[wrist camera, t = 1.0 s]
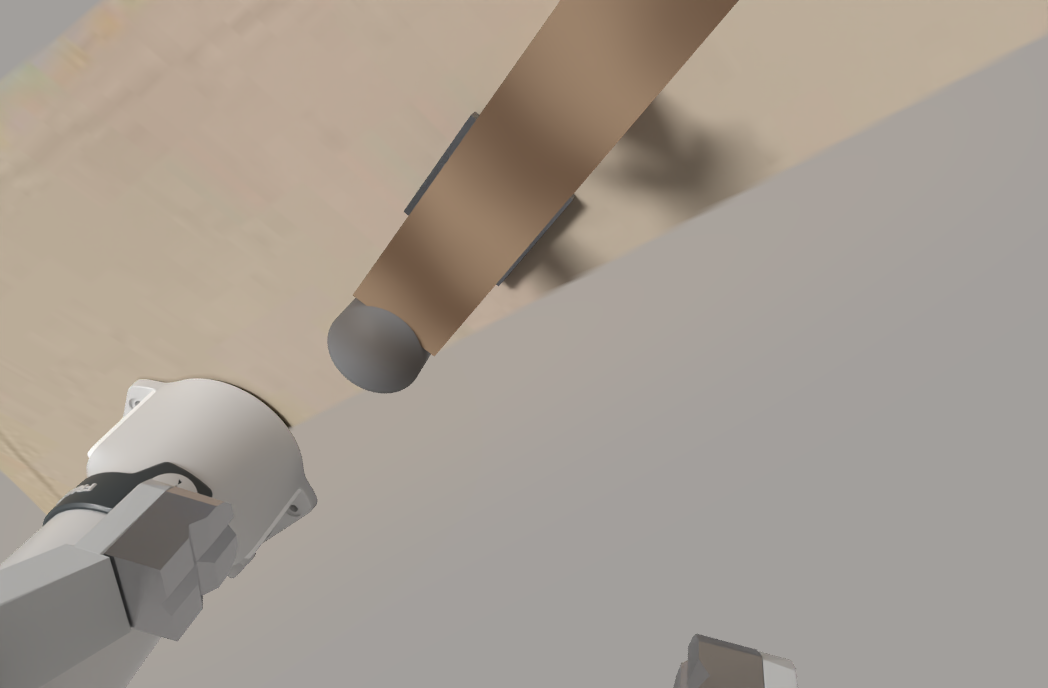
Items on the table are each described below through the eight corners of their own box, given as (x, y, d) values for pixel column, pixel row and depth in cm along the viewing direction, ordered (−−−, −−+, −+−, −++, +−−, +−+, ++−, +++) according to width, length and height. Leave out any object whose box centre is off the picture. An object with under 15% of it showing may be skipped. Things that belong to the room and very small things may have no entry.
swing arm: (408, 379, 31) (389, 409, 29) (336, 326, 30) (311, 353, 28) (752, -26, 20) (760, -24, 18) (653, -122, 20) (651, -130, 18)
